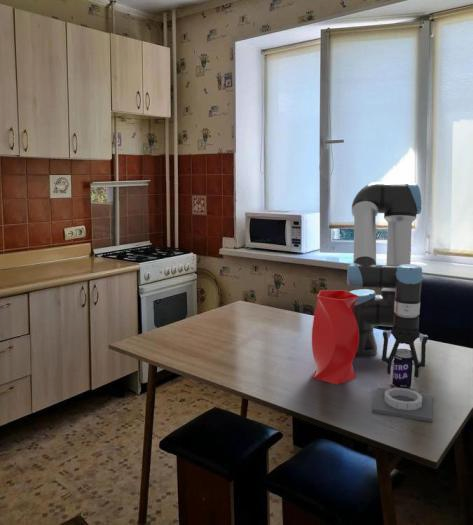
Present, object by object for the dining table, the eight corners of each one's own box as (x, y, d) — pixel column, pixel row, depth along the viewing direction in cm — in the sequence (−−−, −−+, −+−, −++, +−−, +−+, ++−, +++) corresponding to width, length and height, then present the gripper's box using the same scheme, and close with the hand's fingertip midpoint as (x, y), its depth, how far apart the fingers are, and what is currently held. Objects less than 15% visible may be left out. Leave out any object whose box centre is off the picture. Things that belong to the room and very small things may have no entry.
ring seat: (371, 412, 144) (372, 402, 144) (377, 389, 159) (377, 380, 159) (431, 422, 139) (432, 411, 138) (431, 398, 154) (432, 388, 153)
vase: (321, 364, 180) (324, 287, 175) (362, 371, 173) (366, 292, 168) (307, 379, 167) (310, 297, 162) (350, 388, 160) (354, 302, 155)
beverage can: (389, 383, 164) (391, 348, 162) (406, 383, 164) (408, 347, 162) (396, 391, 158) (398, 354, 156) (413, 390, 159) (416, 354, 157)
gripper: (374, 314, 157) (370, 384, 161) (438, 321, 150) (433, 394, 154) (376, 308, 164) (372, 376, 168) (438, 314, 157) (433, 384, 161)
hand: (401, 384), depth 161 cm, fingers closed on beverage can, 6 cm apart
